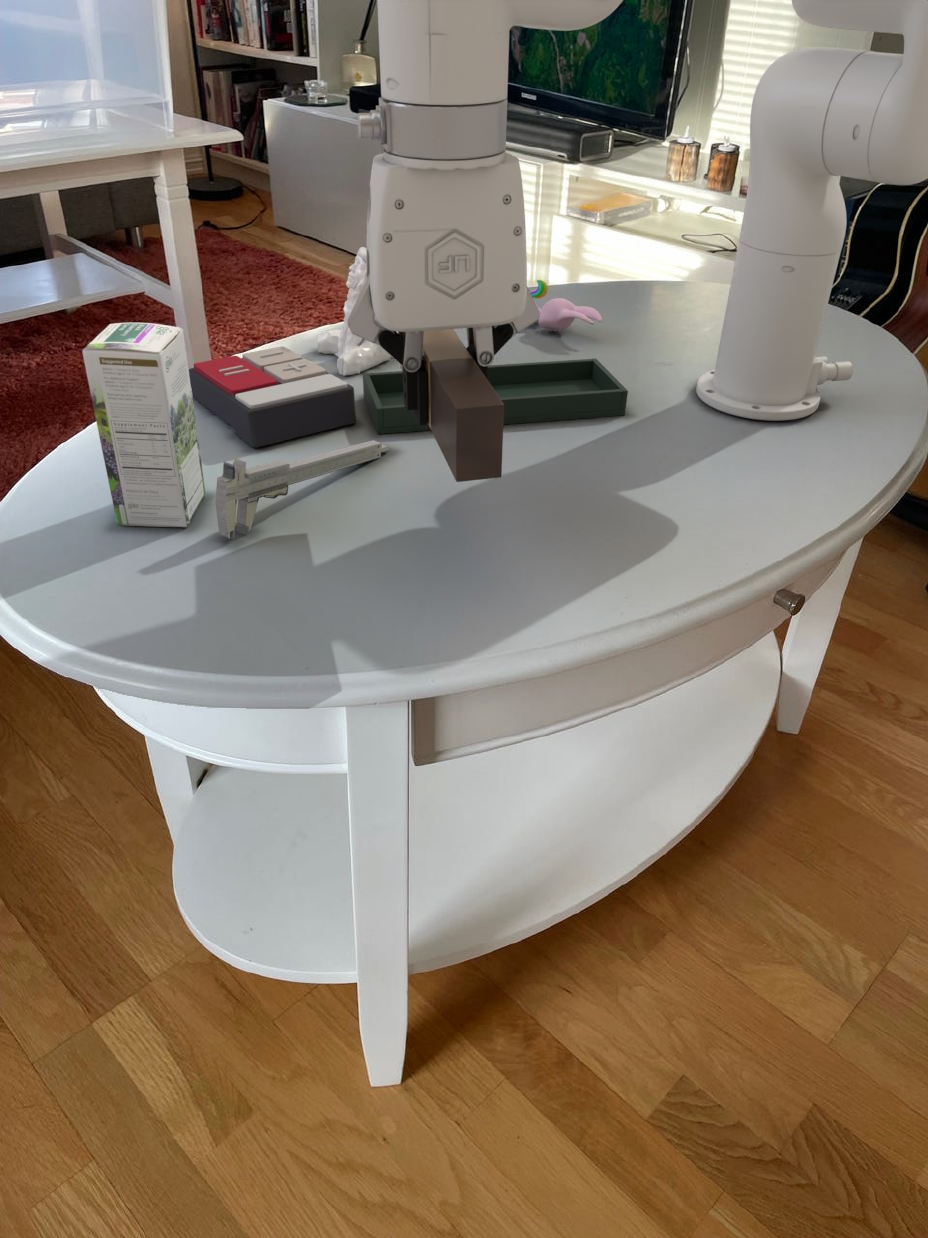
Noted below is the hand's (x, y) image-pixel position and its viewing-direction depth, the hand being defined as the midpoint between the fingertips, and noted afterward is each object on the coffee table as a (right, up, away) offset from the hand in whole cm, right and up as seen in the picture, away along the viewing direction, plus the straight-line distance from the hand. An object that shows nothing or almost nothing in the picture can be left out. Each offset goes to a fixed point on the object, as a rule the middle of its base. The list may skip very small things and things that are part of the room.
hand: (445, 413), depth 67 cm
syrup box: (-23, -6, +9) cm, 26 cm away
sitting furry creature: (-10, +15, +38) cm, 42 cm away
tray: (+4, +7, +28) cm, 29 cm away
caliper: (-11, -4, +12) cm, 17 cm away
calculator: (-18, +6, +26) cm, 32 cm away
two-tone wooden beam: (0, 0, 0) cm, 0 cm away
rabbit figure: (+12, +21, +48) cm, 53 cm away
